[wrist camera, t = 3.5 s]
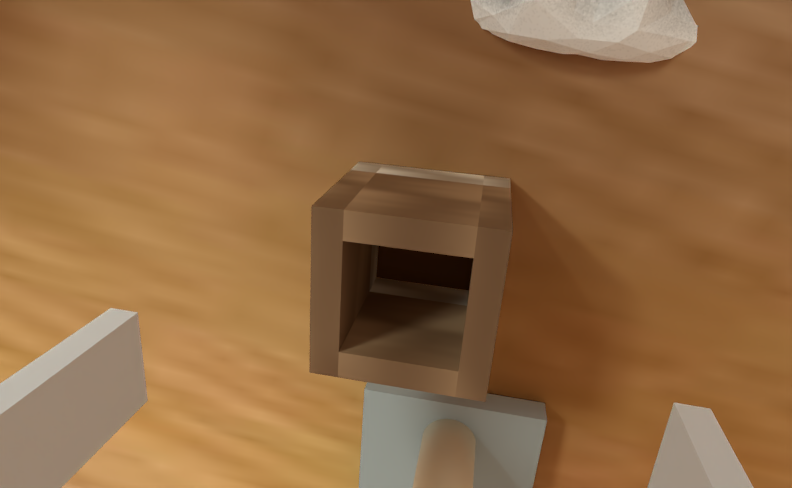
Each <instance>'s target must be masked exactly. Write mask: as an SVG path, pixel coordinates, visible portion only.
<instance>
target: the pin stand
mask: <svg viewBox="0 0 792 488" xmlns="http://www.w3.org/2000/svg"><path fill="white" fill-rule="evenodd" d="M546 423H547V416H546V407H545V403H542V402H536V401H530V400H524V399H518V398H512V397H506V396H500V395H494V394H488V393H487V397H486V402H482V401H476V400H470V399H464V398H458V397H452V396H446V395H440V394H434V393H428V392H423V391H417V390H411V389H405V388H399V387H393V386H387V385H381V384H375V383H369V382H367V384H366V387H365V390H364V408H363V425H362V442H361V459H360V476H359V488H533V484H534V479H535V474H536V470H537V465H538V460H539V456H540V451H541V446H542V442H543V437H544V432H545V428H546Z"/></svg>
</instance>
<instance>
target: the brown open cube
mask: <svg viewBox="0 0 792 488" xmlns="http://www.w3.org/2000/svg"><path fill="white" fill-rule="evenodd" d="M512 234H513V221H512V202H511V184H510V179H509V178H500V177H492V176H483V175H474V174H465V173H456V172H447V171H438V170H429V169H420V168H412V167H403V166H394V165H385V164H376V163H367V162H358V163H357V164H356V165H355V166H354V167H353V168H352V169H351V170H350V171H349V172H347V173H346V174H345V175H344V176H343V177H342V178H341V179H340V180H339V181H338V182H337V183H336V184H335V185H333V186H332V187H331V188H330V189H329V190H328V191H327V192H326V193H325V194H324V195H323V196H322V197H321V198H320V199H318V200H317V201H316V202H315V203H314V204H313V205H312V217H311V298H310V373H316V374H322V375H328V376H334V377H340V378H346V379H352V380H358V381H364V382H369V383H375V384H381V385H387V386H393V387H399V388H405V389H411V390H417V391H423V392H428V393H434V394H440V395H446V396H452V397H458V398H464V399H470V400H476V401H482V402H486V397H487V390H488V384H489V378H490V372H491V365H492V359H493V353H494V347H495V340H496V334H497V328H498V322H499V315H500V309H501V303H502V297H503V291H504V284H505V278H506V272H507V266H508V259H509V253H510V247H511V241H512ZM378 246H385V247H392V248H400V249H407V250H415V251H422V252H430V253H437V254H445V255H452V256H460V257H467V258H473V263H472V271H471V278H470V286H469V290H462V289H455V288H448V287H441V286H434V285H427V284H420V283H413V282H406V281H399V280H392V279H385V278H378V277H377V261H378Z"/></svg>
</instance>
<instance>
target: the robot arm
mask: <svg viewBox="0 0 792 488" xmlns="http://www.w3.org/2000/svg"><path fill="white" fill-rule="evenodd" d="M147 401H148V400H147V391H146V382H145V373H144V364H143V355H142V346H141V337H140V328H139V320H138V312H132V311H126V310H120V309H114V308H110V309H109V310H107V311H106V312H104V313H103V314H101V315H100V316H99V317H97V318H96V319H94V320H93V321H91V322H90V323H88V324H87V325H85V326H84V327H82V328H81V329H79V330H78V331H77V332H75V333H74V334H72V335H71V336H69V337H68V338H66V339H65V340H63V341H62V342H60V343H59V344H57V345H56V346H55V347H53V348H52V349H50V350H49V351H47V352H46V353H44V354H43V355H41V356H40V357H38V358H37V359H36V360H34V361H33V362H31V363H30V364H28V365H27V366H25V367H24V368H22V369H21V370H19V371H18V372H16V373H15V374H14V375H12V376H11V377H9V378H8V379H6V380H5V381H3V382H2V383H0V488H61V487H62V486H63V485H64V484H65V483H66V482H67V481H68V480H69V479H70V478H71V477H72V476H73V475H74V474H75V473H76V472H77V471H78V470H79V469H80V468H81V467H82V466H83V465H84V464H85V463H86V462H87V461H88V460H89V459H90V458H91V457H92V456H93V455H94V454H95V453H96V452H97V451H98V450H99V449H100V448H101V447H102V446H103V445H104V444H105V443H106V442H107V441H108V440H109V439H110V438H111V437H112V436H113V435H114V434H115V433H116V432H117V431H118V430H119V429H120V428H121V427H122V426H123V425H124V424H125V423H126V422H127V421H128V420H129V419H130V418H131V417H132V416H133V415H134V414H135V413H136V412H137V411H138V410H139V409H140V408H141V407H142V406H143V405H144V404H145V403H146V402H147ZM647 488H754V487H753V486H752V484H751V482H750V480H749V478H748V476H747V475H746V473H745V471H744V469H743V467H742V465H741V464H740V462H739V460H738V458H737V456H736V454H735V453H734V451H733V449H732V447H731V445H730V443H729V442H728V440H727V438H726V436H725V434H724V432H723V431H722V429H721V427H720V425H719V423H718V421H717V420H716V418H715V416H714V414H713V412H712V410H711V409H710V408H704V407H698V406H692V405H686V404H680V403H674V404H673V407H672V410H671V413H670V417H669V420H668V423H667V426H666V429H665V433H664V436H663V439H662V442H661V446H660V449H659V452H658V455H657V458H656V462H655V465H654V468H653V471H652V474H651V478H650V481H649V484H648V487H647Z"/></svg>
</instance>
